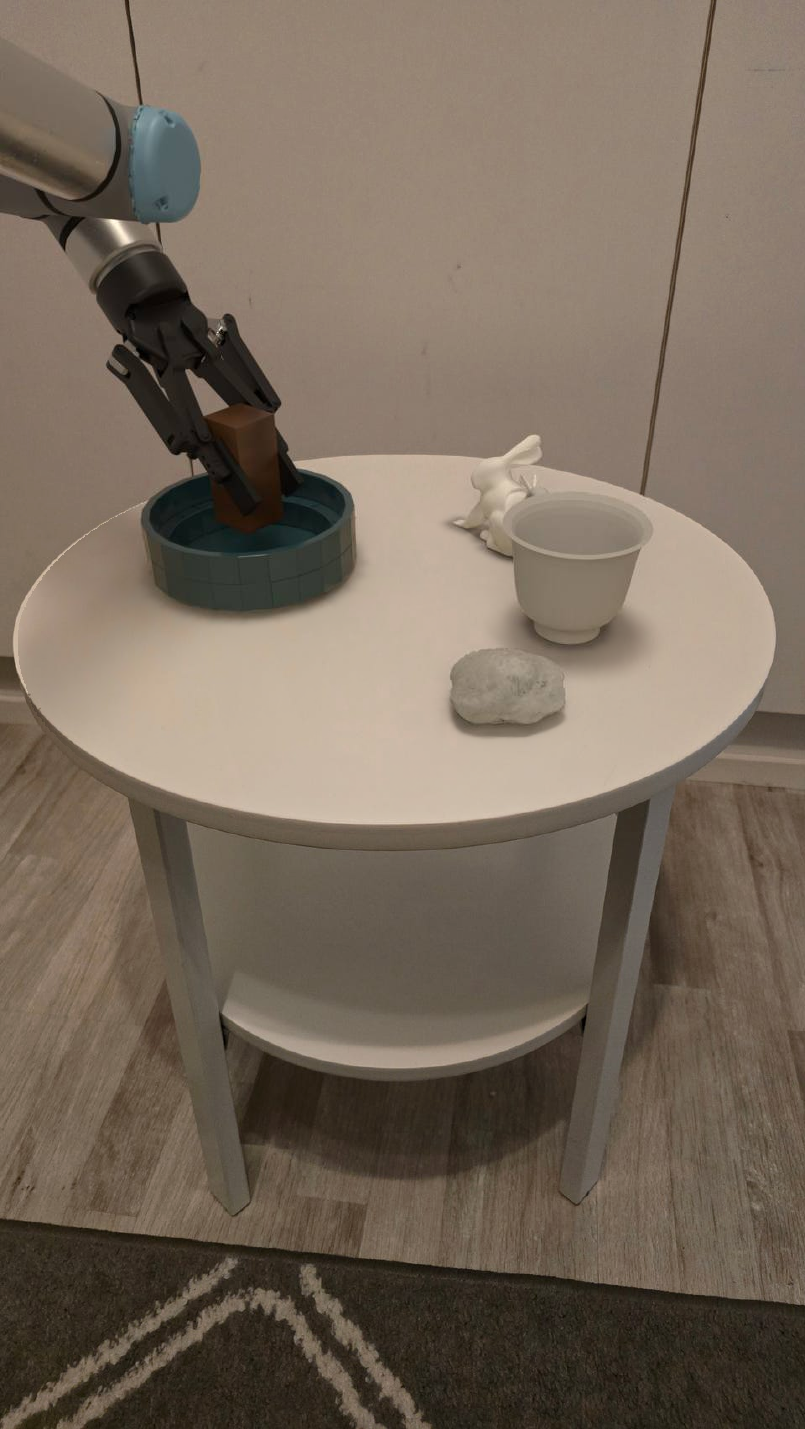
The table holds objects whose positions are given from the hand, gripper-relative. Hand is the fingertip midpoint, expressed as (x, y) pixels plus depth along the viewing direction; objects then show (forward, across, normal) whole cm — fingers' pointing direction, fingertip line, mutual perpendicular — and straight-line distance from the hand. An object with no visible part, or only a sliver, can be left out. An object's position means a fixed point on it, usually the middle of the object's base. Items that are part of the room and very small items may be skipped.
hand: (274, 498), depth 88 cm
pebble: (+26, +4, +14) cm, 30 cm away
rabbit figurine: (+14, -20, +3) cm, 25 cm away
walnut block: (0, 0, -5) cm, 5 cm away
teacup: (+23, -10, +12) cm, 28 cm away
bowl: (+3, 0, -8) cm, 9 cm away
